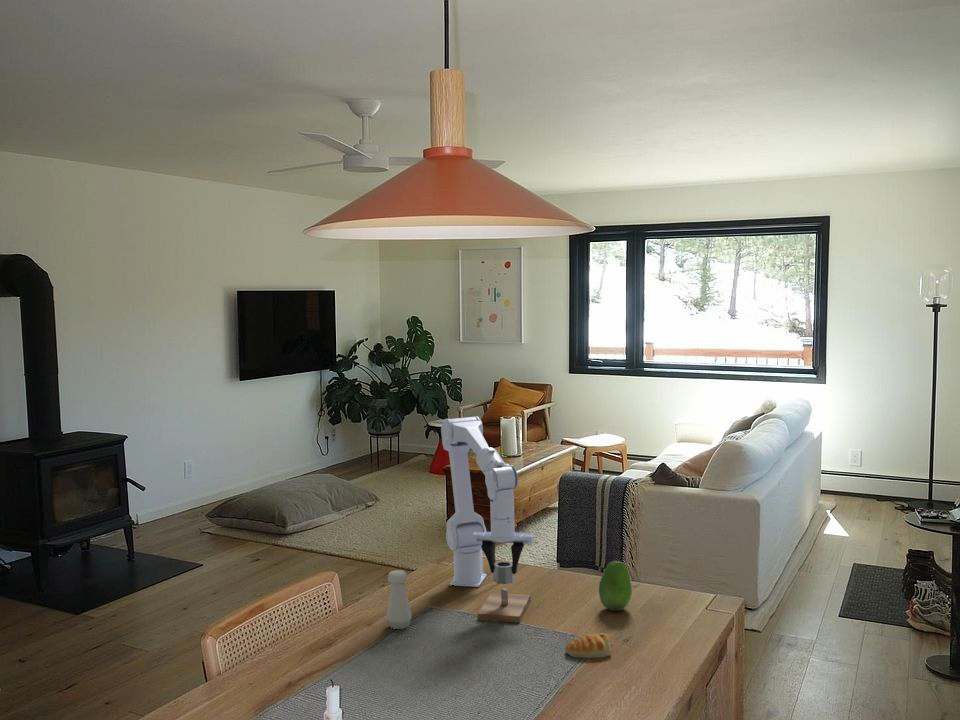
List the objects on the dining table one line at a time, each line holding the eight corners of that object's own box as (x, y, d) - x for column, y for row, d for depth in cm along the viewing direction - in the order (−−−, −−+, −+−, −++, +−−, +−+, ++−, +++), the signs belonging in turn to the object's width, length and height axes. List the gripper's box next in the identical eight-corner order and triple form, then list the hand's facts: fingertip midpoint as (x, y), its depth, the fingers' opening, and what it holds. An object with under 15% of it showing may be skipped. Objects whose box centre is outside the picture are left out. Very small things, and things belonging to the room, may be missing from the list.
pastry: (571, 662, 169) (570, 644, 169) (561, 649, 176) (560, 632, 176) (614, 657, 171) (613, 639, 171) (602, 644, 178) (602, 627, 178)
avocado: (636, 614, 193) (635, 564, 193) (604, 617, 192) (603, 566, 192) (625, 602, 201) (625, 554, 200) (594, 604, 200) (593, 556, 199)
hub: (496, 576, 200) (496, 560, 200) (515, 578, 199) (515, 562, 199) (492, 582, 196) (492, 566, 196) (511, 584, 195) (511, 568, 195)
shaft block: (491, 598, 206) (490, 579, 206) (530, 601, 204) (530, 581, 204) (477, 619, 193) (477, 599, 192) (519, 622, 190) (519, 601, 190)
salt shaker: (410, 631, 187) (408, 575, 186) (385, 631, 187) (383, 576, 186) (412, 621, 193) (411, 567, 192) (388, 621, 193) (386, 567, 192)
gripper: (468, 519, 195) (470, 575, 196) (529, 522, 191) (530, 579, 192) (476, 512, 201) (477, 566, 202) (534, 514, 198) (535, 569, 199)
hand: (503, 572), depth 198 cm, fingers closed on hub, 5 cm apart
